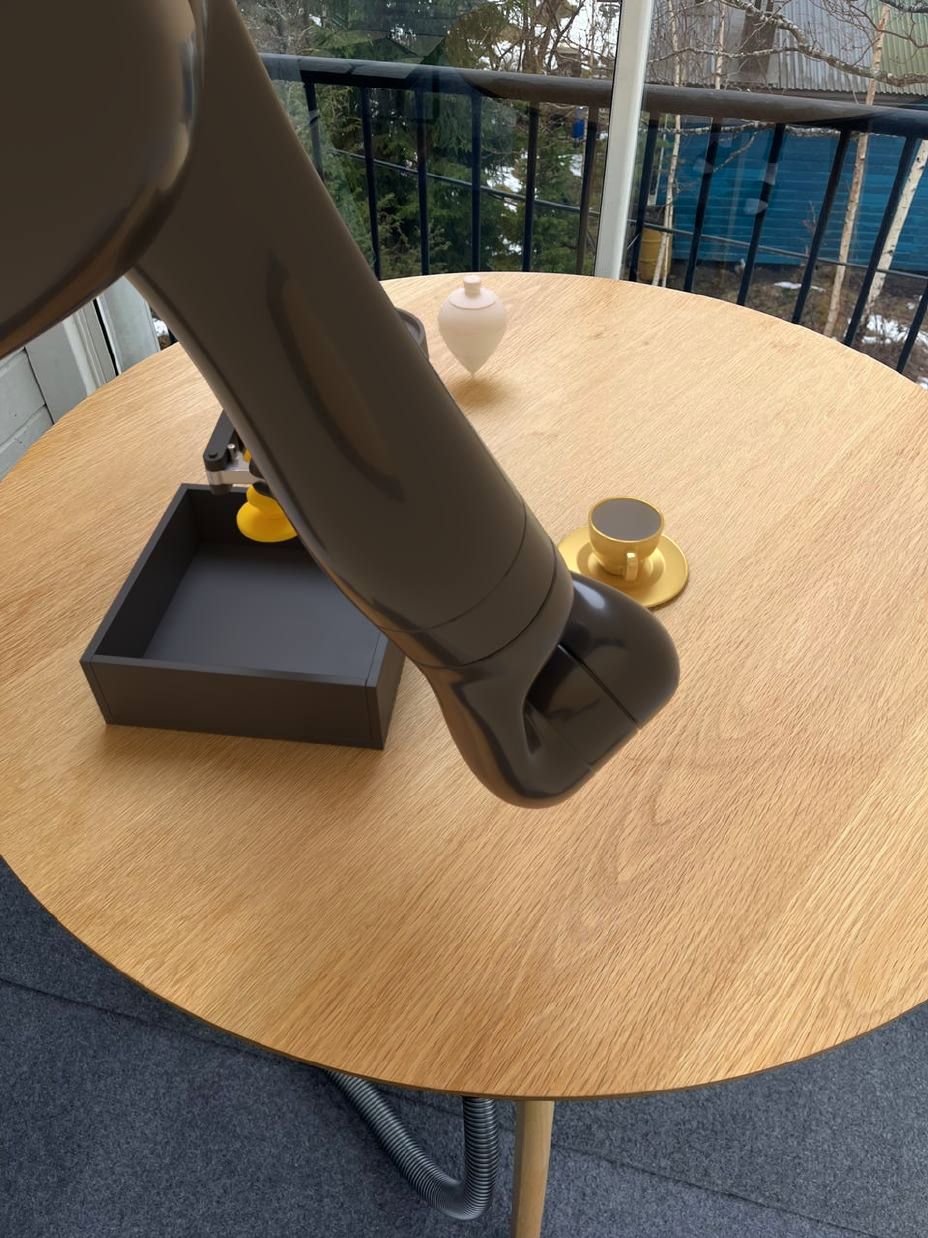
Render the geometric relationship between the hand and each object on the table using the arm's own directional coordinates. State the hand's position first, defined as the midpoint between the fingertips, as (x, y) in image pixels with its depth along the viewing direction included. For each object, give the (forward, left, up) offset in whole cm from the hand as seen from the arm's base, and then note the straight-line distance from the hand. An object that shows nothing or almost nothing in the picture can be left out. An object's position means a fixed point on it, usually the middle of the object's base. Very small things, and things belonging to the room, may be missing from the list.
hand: (241, 381), depth 62 cm
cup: (+27, +12, -24) cm, 38 cm away
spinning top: (+10, +43, -24) cm, 50 cm away
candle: (+2, -3, -9) cm, 10 cm away
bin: (-1, 0, -24) cm, 24 cm away
